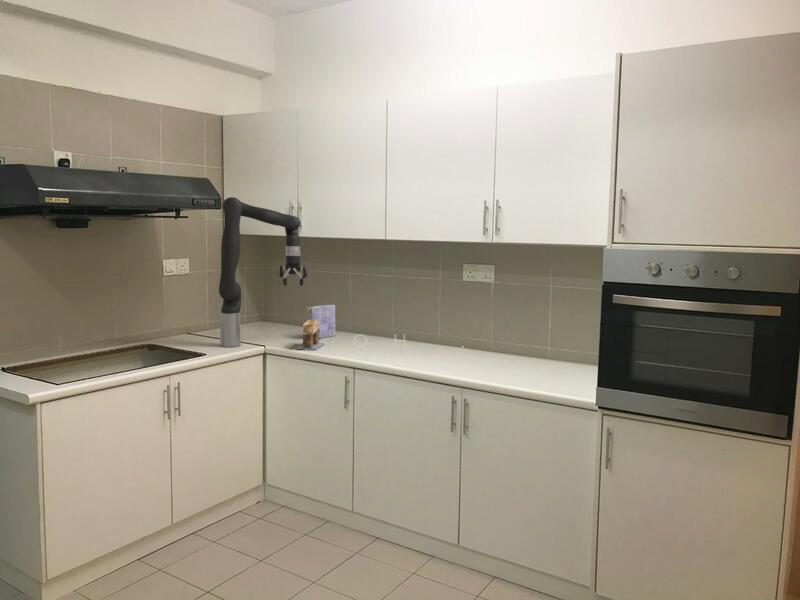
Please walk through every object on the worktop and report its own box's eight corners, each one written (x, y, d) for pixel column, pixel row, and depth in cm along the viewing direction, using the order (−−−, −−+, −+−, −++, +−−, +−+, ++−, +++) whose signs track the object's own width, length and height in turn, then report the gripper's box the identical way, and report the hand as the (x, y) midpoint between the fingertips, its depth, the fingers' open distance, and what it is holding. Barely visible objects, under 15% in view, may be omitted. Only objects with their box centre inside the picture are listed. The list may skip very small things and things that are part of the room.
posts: (303, 347, 323) (302, 333, 322) (311, 342, 336) (311, 329, 335) (310, 348, 322) (310, 334, 321) (318, 343, 335) (318, 329, 334)
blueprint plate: (296, 349, 323) (296, 347, 323) (306, 344, 337) (306, 342, 337) (316, 350, 321) (316, 348, 321) (324, 345, 335) (324, 343, 335)
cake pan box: (331, 334, 366) (331, 303, 364) (337, 335, 363) (337, 304, 361) (306, 339, 351) (305, 307, 349) (312, 340, 348) (312, 307, 346)
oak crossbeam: (303, 334, 321) (303, 324, 320) (308, 329, 335) (308, 319, 335) (313, 334, 320) (313, 324, 320) (317, 329, 335) (317, 319, 335)
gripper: (277, 254, 334) (277, 286, 336) (303, 255, 331) (304, 286, 333) (282, 254, 341) (283, 284, 343) (308, 254, 339) (308, 285, 341)
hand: (293, 285), depth 338 cm, fingers open, 8 cm apart
